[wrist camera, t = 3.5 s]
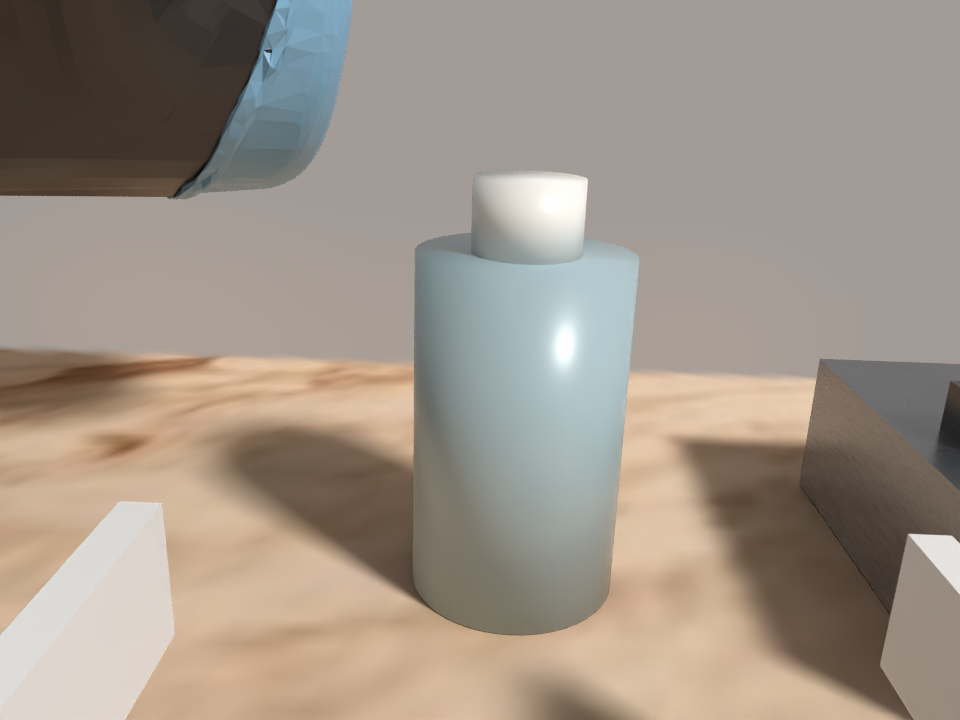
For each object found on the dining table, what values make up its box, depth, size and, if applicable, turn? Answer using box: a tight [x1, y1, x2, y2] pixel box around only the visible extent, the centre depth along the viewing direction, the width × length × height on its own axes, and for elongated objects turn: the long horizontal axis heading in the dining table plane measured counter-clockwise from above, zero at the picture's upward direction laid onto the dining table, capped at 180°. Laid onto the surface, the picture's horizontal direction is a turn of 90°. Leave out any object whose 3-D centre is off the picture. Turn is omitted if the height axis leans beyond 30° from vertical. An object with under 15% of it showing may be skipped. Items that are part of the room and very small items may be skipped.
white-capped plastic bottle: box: [413, 170, 639, 635], centre depth 25 cm, size 6×6×12 cm
